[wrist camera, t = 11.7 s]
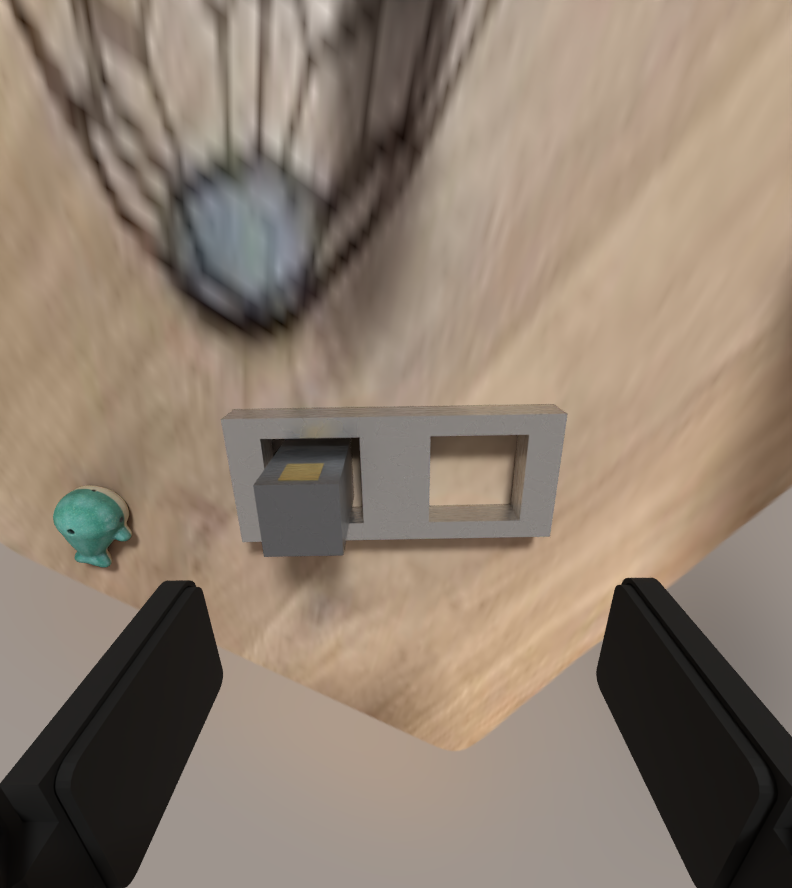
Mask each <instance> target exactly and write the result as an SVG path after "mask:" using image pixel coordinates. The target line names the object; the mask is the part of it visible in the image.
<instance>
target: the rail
mask: <svg viewBox="0 0 792 888" xmlns="http://www.w3.org/2000/svg"><path fill="white" fill-rule="evenodd" d="M566 421H567V413H566V412H564V411H563V410H561V409H560V408H559V407H557V406H556V405H554V404H537V405H473V406H410V407H346V408H283V409H234V410H232V411H231V412H230V413H228V414H227V415H226V416H224V417H223V418H222V419H221V423H222V428H223V434H224V440H225V446H226V451H227V457H228V463H229V469H230V474H231V480H232V486H233V491H234V497H235V503H236V509H237V514H238V520H239V526H240V531H241V537H242V542H262V540H261V534H260V527H259V521H258V514H257V508H256V501H255V494H254V488H253V485H254V483H255V482H256V481H257V479H258V478H259V476H260V475H261V474H262V472H263V471H264V469H265V468H266V466H267V465H268V464H269V462H270V461H271V459H272V458H273V456H274V454H273V447H272V439H292V438H354V437H360V457H361V478H362V499H363V507H352V510H351V515H350V521H349V527H348V532H347V538H346V540H386V539H441V538H496V537H550V532H551V525H552V518H553V511H554V504H555V497H556V490H557V483H558V476H559V469H560V462H561V455H562V448H563V441H564V435H565V428H566ZM477 435H518V437H517V447H516V457H515V467H514V477H513V487H512V497H511V504H504V505H447V506H429V486H430V436H477Z"/></svg>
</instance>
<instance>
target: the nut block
mask: <svg viewBox="0 0 792 888" xmlns="http://www.w3.org/2000/svg"><path fill="white" fill-rule="evenodd" d="M253 488H254V494H255V501H256V508H257V514H258V521H259V527H260V534H261V540H262V547H263V554H264V557H277V556H335V555H344V549H345V544H346V538H347V532H348V527H349V521H350V515H351V510H352V504H353V498H354V486H353V467H352V448H351V438H293V439H285V441H284V442H283V444H282V445H281V446H280V448H279V449H278V451H277V452H276V454H275V455H274V456H273V458H272V459H271V461H270V462H269V464H268V465H267V466H266V468H265V469H264V471H263V472H262V474H261V475H260V476H259V478H258V479H257V481H256V482H255V483H254V485H253Z"/></svg>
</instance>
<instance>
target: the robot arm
mask: <svg viewBox="0 0 792 888" xmlns="http://www.w3.org/2000/svg"><path fill="white" fill-rule="evenodd" d="M596 673H597V674H596V675H597V682H598V685H599V688H600V690H601V692H602V695H603V697H604V699H605V701H606V703H607V705H608V707H609V709H610V711H611V713H612V715H613V717H614V719H615V722H616V724H617V726H618V728H619V730H620V732H621V734H622V736H623V738H624V740H625V742H626V744H627V746H628V748H629V750H630V752H631V755H632V757H633V759H634V761H635V763H636V765H637V767H638V769H639V771H640V773H641V775H642V777H643V780H644V782H645V784H646V786H647V788H648V790H649V792H650V794H651V796H652V798H653V800H654V802H655V804H656V806H657V809H658V811H659V813H660V815H661V817H662V819H663V821H664V823H665V825H666V827H667V829H668V831H669V833H670V835H671V838H672V840H673V842H674V844H675V846H676V848H677V850H678V852H679V854H680V856H681V858H682V860H683V862H684V864H685V867H686V869H687V871H688V873H689V875H690V877H691V879H692V881H693V882H694V884H695V886H696V887H697V888H792V737H791V735H790V734H789V733H788V732H787V731H786V730H785V729H784V727H783V726H782V725H781V724H780V723H779V721H778V720H777V719H776V718H775V717H774V716H773V714H772V713H771V712H770V711H769V710H768V709H767V708H766V706H765V705H764V704H763V703H762V702H761V700H760V699H759V698H758V697H757V696H756V695H755V694H754V692H753V691H752V690H751V689H750V688H749V686H748V685H747V684H746V683H745V682H744V680H743V679H742V678H741V677H740V676H739V675H738V673H737V672H736V671H735V670H734V669H733V668H732V667H731V665H730V664H729V663H728V662H727V661H726V660H725V658H724V657H723V656H722V655H721V654H720V653H719V651H718V650H717V649H716V648H715V647H714V645H713V644H712V643H711V642H710V641H709V639H708V638H707V637H706V636H705V635H704V634H703V633H702V631H701V630H700V629H699V628H698V627H697V625H696V624H695V623H694V622H693V621H692V620H691V619H690V617H689V616H688V615H687V614H686V613H685V611H684V610H683V609H682V608H681V607H680V606H679V604H678V603H677V602H676V601H675V600H674V599H673V597H672V596H671V595H670V594H669V593H668V592H667V590H666V589H665V588H664V587H663V586H662V584H661V583H660V582H659V581H658V580H656V579H654V578H625V579H624V580H623V582H622V585H617V586H616V588H615V590H614V595H613V599H612V604H611V608H610V613H609V617H608V621H607V626H606V630H605V635H604V639H603V644H602V648H601V653H600V657H599V661H598V666H597V671H596ZM222 679H223V669H222V665H221V661H220V657H219V654H218V649H217V645H216V642H215V638H214V634H213V630H212V626H211V622H210V618H209V614H208V610H207V606H206V602H205V598H204V594H203V591H202V589H201V588H200V587H196V585H195V583H194V582H193V581H165V582H163V583H162V584H161V585H160V586H159V587H158V588H157V589H156V591H155V592H154V593H153V594H152V596H151V597H150V598H149V599H148V601H147V602H146V603H145V604H144V606H143V607H142V608H141V609H140V611H139V612H138V613H137V614H136V616H135V617H134V618H133V619H132V621H131V622H130V623H129V624H128V625H127V627H126V628H125V629H124V630H123V632H122V633H121V634H120V635H119V637H118V638H117V639H116V640H115V642H114V643H113V644H112V645H111V647H110V648H109V649H108V650H107V652H106V653H105V654H104V655H103V656H102V658H101V659H100V660H99V661H98V663H97V664H96V665H95V666H94V668H93V669H92V670H91V671H90V673H89V674H88V675H87V676H86V678H85V679H84V680H83V681H82V683H81V684H80V685H79V686H78V688H77V689H76V690H75V691H74V693H73V694H72V695H71V696H70V697H69V699H68V700H67V701H66V702H65V704H64V705H63V706H62V707H61V709H60V710H59V711H58V713H57V714H56V715H55V716H54V717H53V719H52V720H51V721H50V722H49V724H48V725H47V726H46V727H45V728H44V730H43V731H42V732H41V733H40V735H39V736H38V737H37V738H36V740H35V741H34V742H33V743H32V745H31V746H30V747H29V748H28V750H27V751H26V752H25V753H24V755H23V756H22V757H21V758H20V760H19V761H18V762H17V763H16V764H15V766H14V767H13V768H12V770H11V771H10V772H9V773H8V775H7V776H6V777H5V778H4V779H3V781H2V782H1V783H0V888H125V887H127V886H128V885H129V884H130V883H131V882H132V880H133V879H134V877H135V875H136V873H137V871H138V869H139V867H140V865H141V862H142V860H143V858H144V856H145V854H146V851H147V849H148V847H149V845H150V842H151V840H152V838H153V836H154V834H155V831H156V829H157V827H158V825H159V823H160V820H161V818H162V816H163V814H164V812H165V809H166V807H167V805H168V803H169V800H170V798H171V796H172V794H173V792H174V789H175V787H176V785H177V783H178V780H179V778H180V776H181V774H182V771H183V770H184V767H185V765H186V763H187V761H188V758H189V756H190V754H191V752H192V750H193V747H194V745H195V743H196V741H197V739H198V736H199V734H200V732H201V730H202V728H203V725H204V723H205V721H206V719H207V716H208V714H209V712H210V710H211V708H212V705H213V703H214V701H215V699H216V696H217V694H218V692H219V690H220V687H221V684H222Z"/></svg>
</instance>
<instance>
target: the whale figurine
mask: <svg viewBox="0 0 792 888" xmlns="http://www.w3.org/2000/svg"><path fill="white" fill-rule="evenodd" d="M128 517H129V510H128V507H127V504H126V503H125V501H124V500H123V499H122V498H121V497H120V496H119V495H118V494H117V493H115V492H113V491H111V490H109V489H106V488H103V487H99V486H83V487H79V488H77V489H75V490H73V491H71V492H70V493H68V494H67V495H66V496H64V497H63V498H62V499H61V500H60V501H59V503H58V504H57V506H56V508H55V511H54V515H53V520H54V524H55V526H56V528H57V529H58V531H59V532H60V533H61V534H62V535H63V536H64V537H65V539H66V540H67V541H68V542H69V543H70V544H71V546H72V547H74V548H75V549H76V550H77V553H76V554H75V560H76V561H77V562H81V563H88V564H92V565H95V566H99V567H108V566H110V565H111V563H112V558H111V555H110V553H109V551H108V550H107V548H108V546H109V545H110V544H111V543H112V542H113V540H114V539H116V540H119V541H127V540H129V539H130V538H131V536H132V531H131V530H130V528H129V527H128V526H127V520H128Z"/></svg>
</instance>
